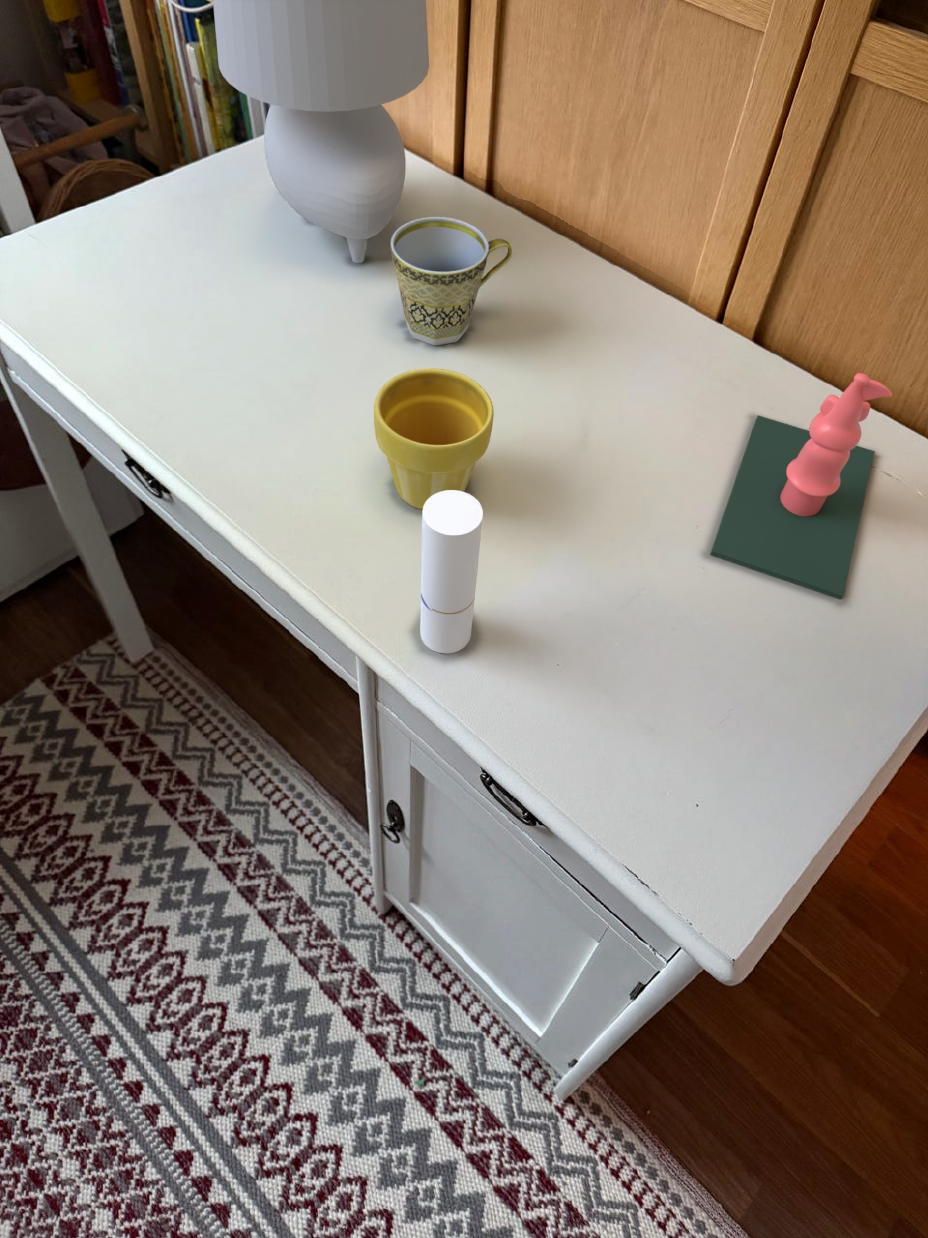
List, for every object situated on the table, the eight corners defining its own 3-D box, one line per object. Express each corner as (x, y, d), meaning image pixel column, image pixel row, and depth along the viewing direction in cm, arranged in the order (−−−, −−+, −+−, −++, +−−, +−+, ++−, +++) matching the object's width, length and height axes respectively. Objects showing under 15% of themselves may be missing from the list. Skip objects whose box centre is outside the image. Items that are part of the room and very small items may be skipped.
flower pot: (476, 442, 90) (483, 362, 82) (494, 521, 84) (503, 443, 76) (371, 450, 88) (368, 369, 80) (382, 530, 82) (380, 452, 74)
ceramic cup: (406, 363, 96) (406, 279, 88) (380, 306, 101) (378, 223, 93) (520, 342, 99) (531, 260, 91) (489, 288, 104) (496, 206, 96)
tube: (480, 626, 77) (494, 506, 65) (453, 662, 75) (462, 544, 62) (438, 603, 78) (443, 481, 66) (410, 637, 76) (410, 517, 64)
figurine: (830, 487, 88) (898, 362, 75) (827, 526, 85) (898, 401, 73) (777, 475, 88) (836, 349, 76) (772, 513, 85) (834, 387, 73)
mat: (872, 455, 92) (874, 450, 91) (840, 599, 81) (843, 595, 80) (756, 419, 94) (757, 414, 93) (709, 555, 83) (711, 550, 82)
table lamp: (459, 266, 106) (482, -173, 74) (283, 307, 100) (223, -152, 68) (384, 169, 118) (376, -248, 85) (222, 200, 112) (146, -236, 79)
